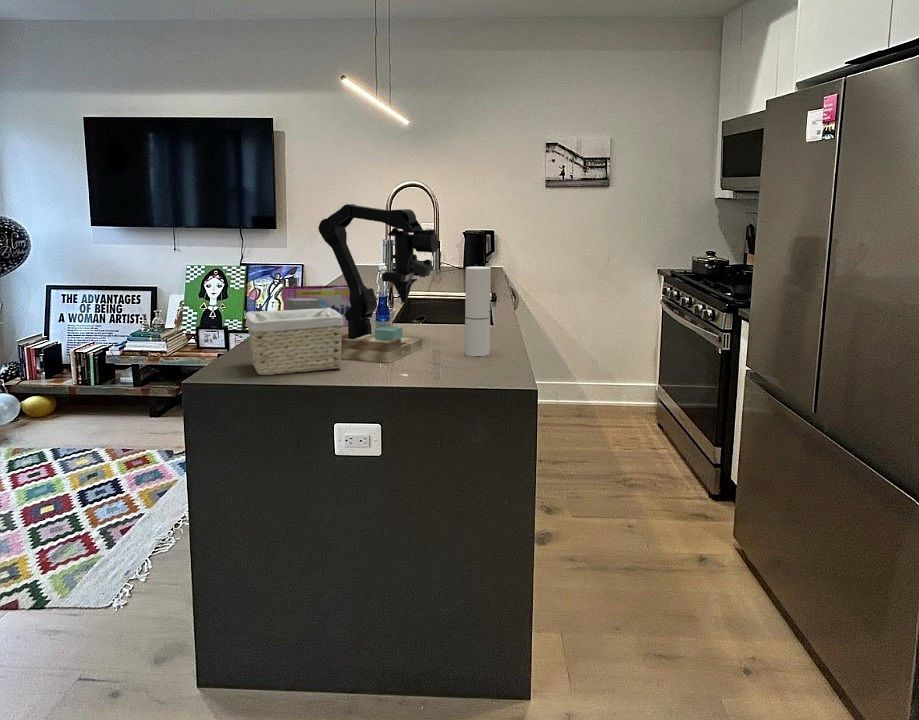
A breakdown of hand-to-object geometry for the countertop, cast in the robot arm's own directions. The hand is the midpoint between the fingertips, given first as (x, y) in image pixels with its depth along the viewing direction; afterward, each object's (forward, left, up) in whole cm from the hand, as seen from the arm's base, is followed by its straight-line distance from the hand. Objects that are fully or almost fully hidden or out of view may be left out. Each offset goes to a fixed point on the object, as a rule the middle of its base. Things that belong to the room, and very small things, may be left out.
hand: (404, 302), depth 251 cm
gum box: (-40, +15, -13) cm, 44 cm away
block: (0, -11, -9) cm, 14 cm away
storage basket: (-11, -44, -13) cm, 47 cm away
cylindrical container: (+27, -8, -13) cm, 31 cm away
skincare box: (-20, -26, -13) cm, 35 cm away
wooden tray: (0, -18, -12) cm, 22 cm away
